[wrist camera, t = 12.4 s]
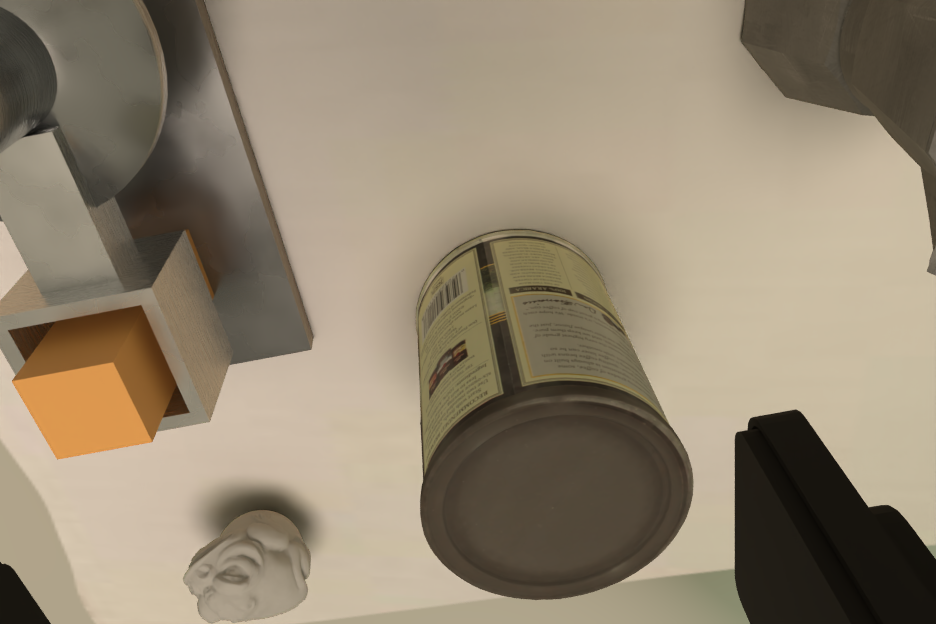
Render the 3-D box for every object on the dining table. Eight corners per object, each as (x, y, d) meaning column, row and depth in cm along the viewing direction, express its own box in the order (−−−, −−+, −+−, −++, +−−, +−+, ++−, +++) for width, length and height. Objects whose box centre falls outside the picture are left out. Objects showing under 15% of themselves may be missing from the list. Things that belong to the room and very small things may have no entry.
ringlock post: (-127, -97, 30) (-931, -13, 12) (152, -155, 30) (-239, -157, 12) (109, 375, 42) (-120, 784, 24) (313, 337, 41) (242, 722, 23)
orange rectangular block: (112, 243, 37) (11, 381, 27) (188, 229, 37) (113, 362, 27) (142, 309, 39) (57, 459, 29) (214, 295, 38) (152, 441, 29)
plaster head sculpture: (234, 464, 45) (208, 558, 39) (338, 512, 48) (329, 608, 42) (185, 529, 48) (153, 627, 42) (287, 572, 50) (271, 670, 44)
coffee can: (581, 405, 45) (646, 611, 33) (401, 383, 43) (399, 591, 31) (635, 243, 40) (735, 415, 28) (434, 211, 38) (448, 379, 26)
